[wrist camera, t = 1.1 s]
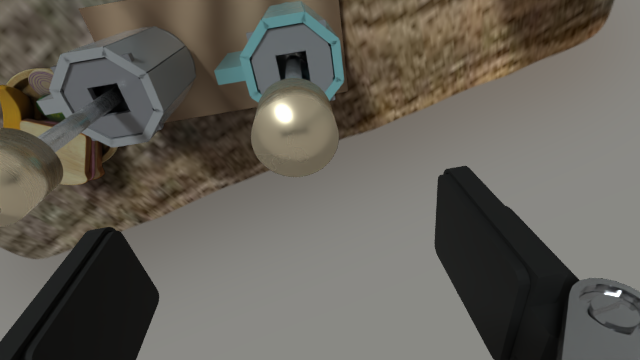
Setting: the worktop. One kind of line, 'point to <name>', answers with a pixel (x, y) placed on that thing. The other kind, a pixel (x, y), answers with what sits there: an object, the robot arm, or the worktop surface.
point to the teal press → (285, 50)
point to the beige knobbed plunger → (294, 122)
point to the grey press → (124, 82)
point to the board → (203, 40)
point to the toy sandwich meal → (51, 125)
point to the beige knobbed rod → (44, 155)
